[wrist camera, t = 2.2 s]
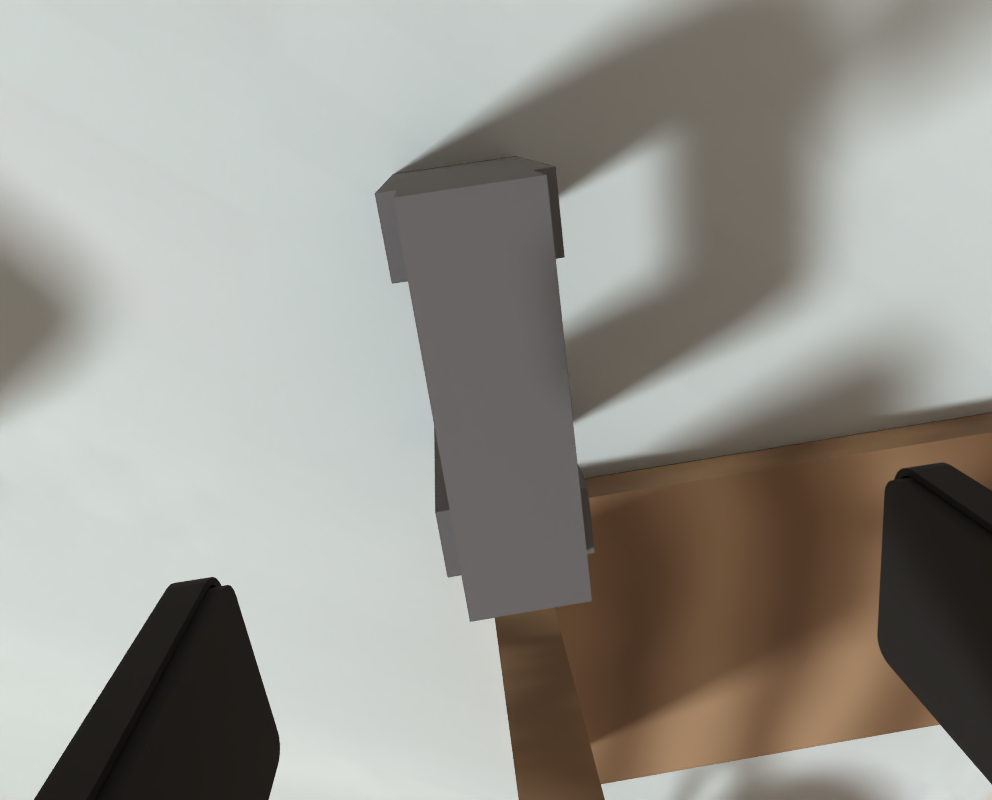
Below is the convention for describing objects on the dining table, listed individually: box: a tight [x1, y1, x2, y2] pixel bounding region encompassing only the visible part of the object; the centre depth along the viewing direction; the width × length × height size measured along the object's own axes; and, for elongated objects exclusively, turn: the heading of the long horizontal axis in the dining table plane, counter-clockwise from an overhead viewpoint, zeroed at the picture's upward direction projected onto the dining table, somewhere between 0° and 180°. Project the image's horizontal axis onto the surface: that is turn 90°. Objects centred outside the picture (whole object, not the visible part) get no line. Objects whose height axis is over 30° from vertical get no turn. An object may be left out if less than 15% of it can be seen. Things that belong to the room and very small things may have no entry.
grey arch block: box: [375, 156, 595, 622], centre depth 20 cm, size 10×4×10 cm, turn 8°
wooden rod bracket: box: [495, 413, 992, 800], centre depth 24 cm, size 22×14×14 cm, turn 98°
